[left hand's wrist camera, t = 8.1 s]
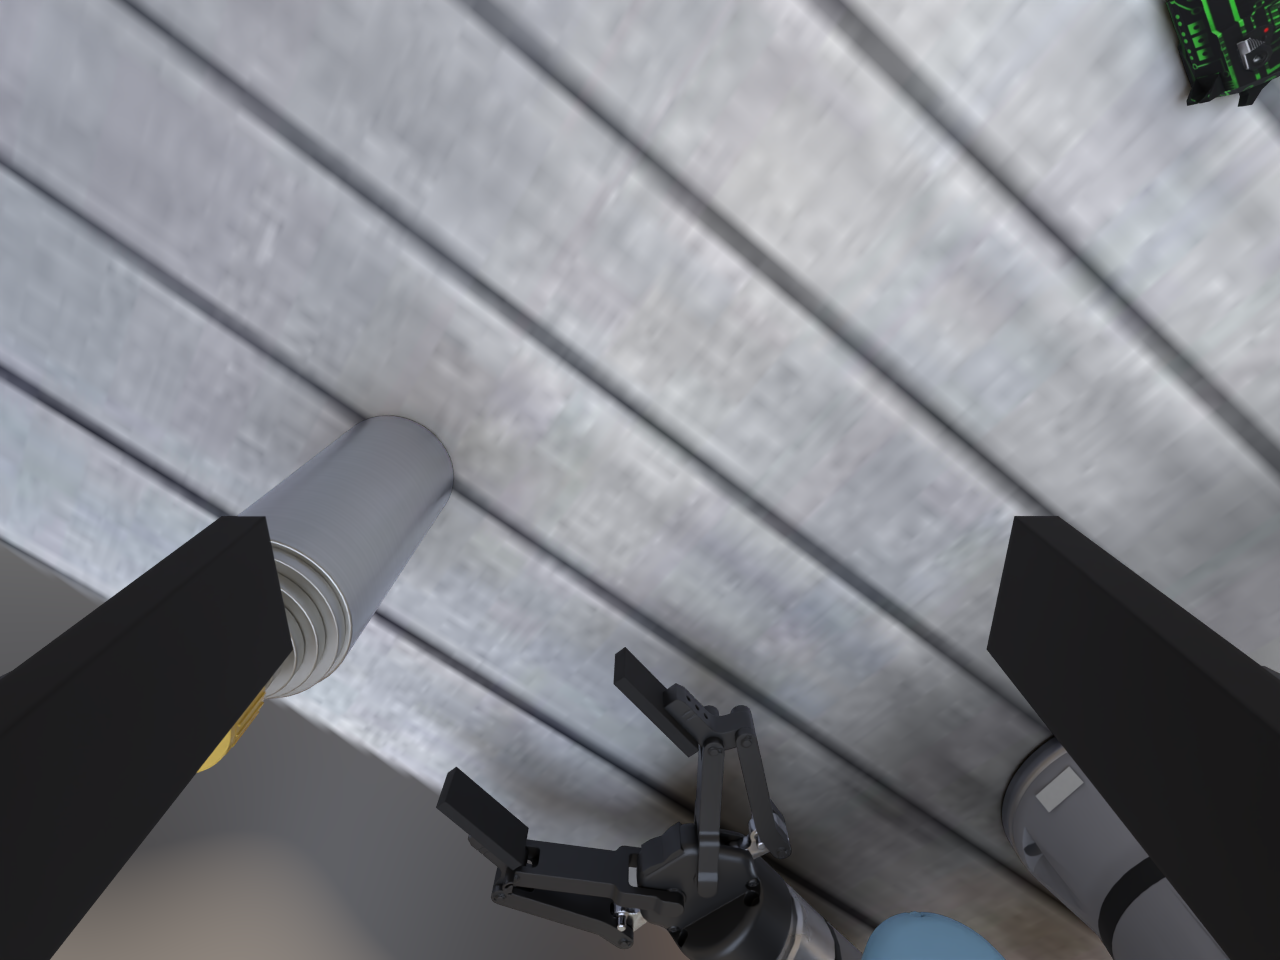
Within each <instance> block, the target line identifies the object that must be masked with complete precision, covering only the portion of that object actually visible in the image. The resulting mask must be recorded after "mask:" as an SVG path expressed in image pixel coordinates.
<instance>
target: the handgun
mask: <svg viewBox="0 0 1280 960" xmlns="http://www.w3.org/2000/svg"><path fill="white" fill-rule="evenodd" d="M1166 5H1167V8H1168V10H1169V13H1170V16H1171V19H1172V22H1173V24H1174V27H1175V30H1176V33H1177V36H1178V38H1179V41H1180V43H1179V46H1178V50H1179V52H1180V55H1181V58H1182V61H1183V64H1184V67H1185V70H1186V73H1187V76H1188V79H1189V81H1190V84H1191V87H1192V89H1191V91H1190V94H1189V96H1188V99H1187V106H1188V105H1193V104H1197V103H1204V102H1209V101H1211V100H1213V99H1214V98H1216V97H1221V96H1226V95H1231V94H1236V93H1239V95H1240V99H1239V103H1238V107H1239V106H1247V105H1252V104H1253V103H1254V101H1255V99H1256V98H1257V96H1258V95H1259V93H1260V92H1261V90H1262V89H1263V88H1264V87H1265V86H1266V85H1267V84H1268V83H1269V82H1270V81H1271V80H1272V79H1274V78H1276V77H1279V76H1280V0H1169V1H1167V2H1166Z"/></svg>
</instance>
